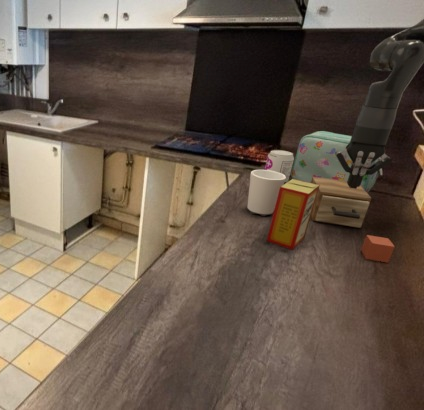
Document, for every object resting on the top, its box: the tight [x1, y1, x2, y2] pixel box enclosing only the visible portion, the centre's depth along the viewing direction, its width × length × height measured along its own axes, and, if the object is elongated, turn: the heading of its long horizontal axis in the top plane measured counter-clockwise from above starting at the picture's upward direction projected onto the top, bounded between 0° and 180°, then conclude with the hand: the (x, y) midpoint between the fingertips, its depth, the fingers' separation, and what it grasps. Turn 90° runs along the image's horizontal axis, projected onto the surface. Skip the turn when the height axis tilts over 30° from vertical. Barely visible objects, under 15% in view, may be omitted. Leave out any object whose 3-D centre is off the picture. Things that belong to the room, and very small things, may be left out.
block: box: [360, 234, 396, 264], centre depth 90 cm, size 5×5×5 cm
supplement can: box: [264, 149, 295, 184], centre depth 128 cm, size 8×8×15 cm
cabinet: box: [310, 177, 372, 229], centre depth 112 cm, size 15×13×10 cm
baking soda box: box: [266, 178, 320, 250], centre depth 95 cm, size 10×6×16 cm
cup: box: [247, 169, 286, 217], centre depth 112 cm, size 10×10×13 cm
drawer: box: [315, 194, 371, 228], centre depth 108 cm, size 18×11×8 cm, turn 158°
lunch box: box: [291, 130, 383, 194], centre depth 130 cm, size 27×10×21 cm, turn 34°
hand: (352, 187), depth 99 cm, fingers closed
